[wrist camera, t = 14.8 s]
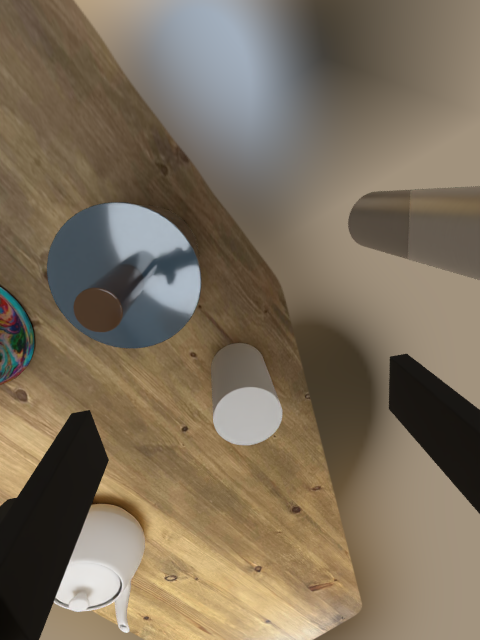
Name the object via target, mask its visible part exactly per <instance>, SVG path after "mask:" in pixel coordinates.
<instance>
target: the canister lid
mask: <svg viewBox="0 0 480 640" xmlns="http://www.w3.org/2000/svg"><path fill="white" fill-rule="evenodd" d="M47 276H48V282H49V286H50V290H51V293H52V296H53V298H54V300H55V302H56V304H57V306H58V307H59V309H60V311H61V312H62V313H63V315H64V316H65V317H66V318H67V320H68V321H69V322H70V323H71V324H72V325H73V326H74V327H76V328H77V329H78V330H80V331H81V332H82V333H84V334H85V335H87V336H88V337H90V338H92V339H94V340H96V341H98V342H101V343H104V344H107V345H110V346H114V347H120V348H142V347H148V346H152V345H156V344H158V343H161V342H163V341H165V340H167V339H169V338H171V337H172V336H173V335H175V334H176V333H178V332H179V331H180V330H181V329H182V328H183V327H184V326H185V325H186V324H187V322H188V321H189V320H190V318H191V317H192V315H193V313H194V311H195V309H196V307H197V304H198V301H199V297H200V292H201V271H200V266H199V262H198V258H197V256H196V253H195V251H194V249H193V247H192V245H191V243H190V242H189V240H188V239H187V237H186V236H185V235H184V233H183V232H182V231H181V230H180V229H179V228H178V227H177V226H176V225H175V224H174V223H173V222H172V221H170V220H169V219H168V218H166V217H165V216H163V215H162V214H160V213H158V212H156V211H154V210H152V209H150V208H147V207H144V206H141V205H138V204H132V203H126V202H111V203H103V204H98V205H94V206H91V207H89V208H86V209H84V210H82V211H80V212H79V213H77V214H75V215H74V216H73V217H72V218H70V219H69V220H68V221H67V222H66V223H65V224H64V225H63V226H62V227H61V228H60V230H59V231H58V233H57V234H56V236H55V238H54V240H53V242H52V244H51V247H50V251H49V254H48V262H47Z"/></svg>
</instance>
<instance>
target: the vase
mask: <svg viewBox="0 0 480 640" xmlns="http://www.w3.org/2000/svg"><path fill="white" fill-rule="evenodd" d="M33 351H34V333H33V329H32V325H31V323H30V320H29V318H28V316H27V314H26V313H25V311H24V310H23V308H22V307H21V306H20V304H19V303H18V302H17V301H16V300H15V299H14V298H13V297H12V296H11V295H10V294H9V293H8V292H7V291H5V290H4V289H3V288H1V287H0V385H1V384H4V383H6V382H9V381H11V380H12V379H14V378H16V377H17V376H18V375H19V374H21V373H22V372H23V371H24V369H25V368H26V367H27V365H28V364H29V362H30V360H31V358H32V355H33Z"/></svg>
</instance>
